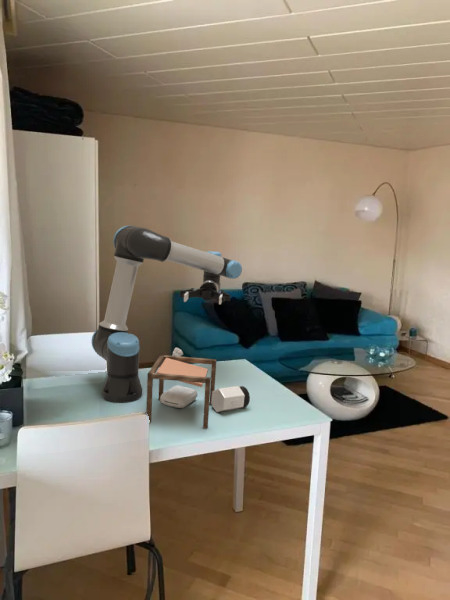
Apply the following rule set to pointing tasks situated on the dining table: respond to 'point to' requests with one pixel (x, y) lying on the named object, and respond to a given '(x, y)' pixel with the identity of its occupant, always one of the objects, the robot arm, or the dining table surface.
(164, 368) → the trapdoor
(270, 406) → the dining table surface
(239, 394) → the jar
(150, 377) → the trapdoor frame
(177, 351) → the sitting furry creature
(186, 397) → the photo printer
